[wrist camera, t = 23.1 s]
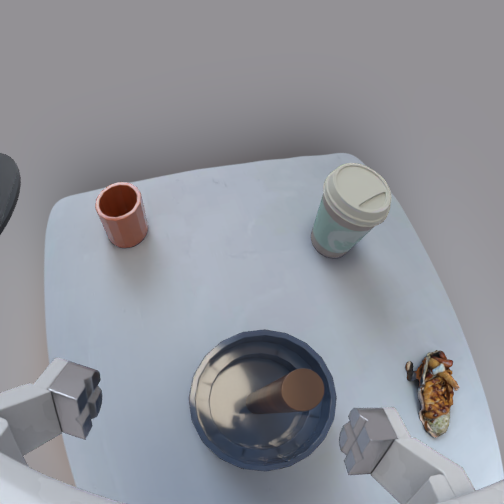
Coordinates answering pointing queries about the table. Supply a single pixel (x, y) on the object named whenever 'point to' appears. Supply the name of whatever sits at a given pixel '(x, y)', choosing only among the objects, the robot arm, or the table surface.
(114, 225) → the crock
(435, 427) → the loaded food tray
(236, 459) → the bowl
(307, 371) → the brown wooden rod
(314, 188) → the table surface
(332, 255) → the coffee cup
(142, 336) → the table surface
